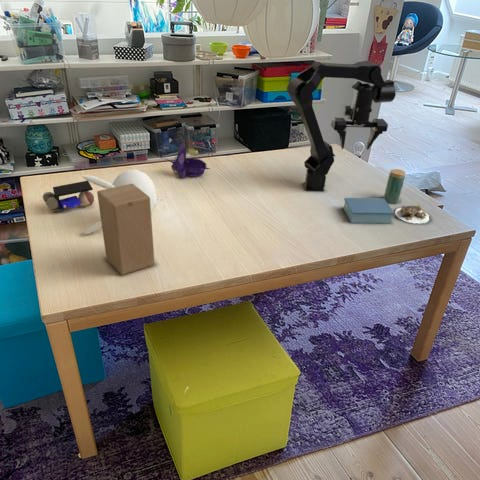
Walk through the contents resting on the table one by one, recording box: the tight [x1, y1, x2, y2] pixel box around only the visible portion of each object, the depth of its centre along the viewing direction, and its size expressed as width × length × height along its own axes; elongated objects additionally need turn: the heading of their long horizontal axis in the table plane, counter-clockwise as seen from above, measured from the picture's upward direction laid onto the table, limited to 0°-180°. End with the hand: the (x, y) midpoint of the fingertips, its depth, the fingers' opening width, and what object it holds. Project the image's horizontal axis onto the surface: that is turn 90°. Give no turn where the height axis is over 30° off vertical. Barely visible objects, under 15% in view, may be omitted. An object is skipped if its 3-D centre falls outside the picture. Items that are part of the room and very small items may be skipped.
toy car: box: [42, 180, 95, 213], centre depth 159 cm, size 7×8×15 cm
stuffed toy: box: [81, 169, 163, 236], centre depth 148 cm, size 19×14×25 cm
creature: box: [163, 139, 211, 179], centre depth 183 cm, size 9×18×12 cm, turn 108°
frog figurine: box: [394, 204, 430, 225], centre depth 166 cm, size 12×12×4 cm
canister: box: [383, 168, 406, 204], centre depth 174 cm, size 5×5×10 cm
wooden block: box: [97, 184, 156, 276], centre depth 130 cm, size 10×10×20 cm
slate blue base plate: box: [343, 197, 395, 224], centre depth 165 cm, size 14×11×4 cm
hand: (354, 149), depth 179 cm, fingers open, 9 cm apart
